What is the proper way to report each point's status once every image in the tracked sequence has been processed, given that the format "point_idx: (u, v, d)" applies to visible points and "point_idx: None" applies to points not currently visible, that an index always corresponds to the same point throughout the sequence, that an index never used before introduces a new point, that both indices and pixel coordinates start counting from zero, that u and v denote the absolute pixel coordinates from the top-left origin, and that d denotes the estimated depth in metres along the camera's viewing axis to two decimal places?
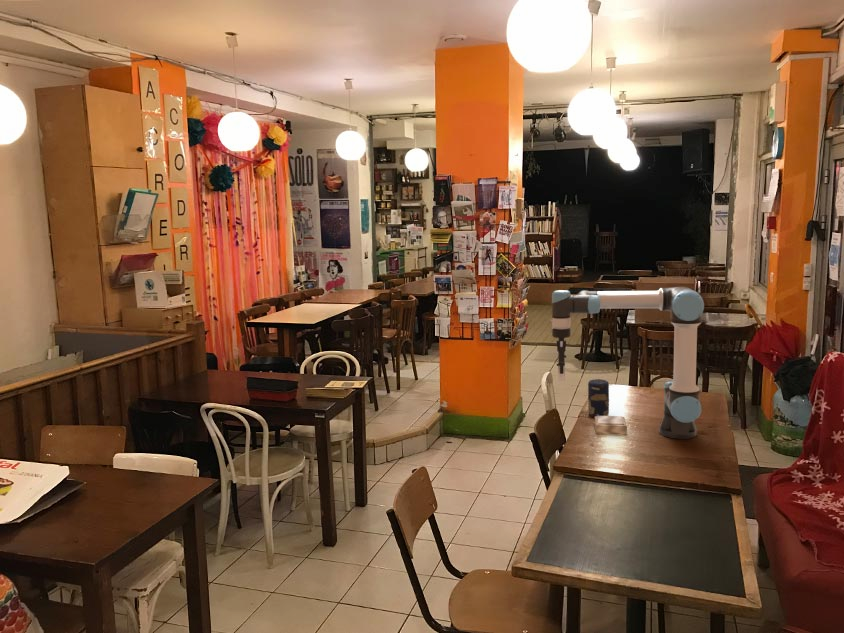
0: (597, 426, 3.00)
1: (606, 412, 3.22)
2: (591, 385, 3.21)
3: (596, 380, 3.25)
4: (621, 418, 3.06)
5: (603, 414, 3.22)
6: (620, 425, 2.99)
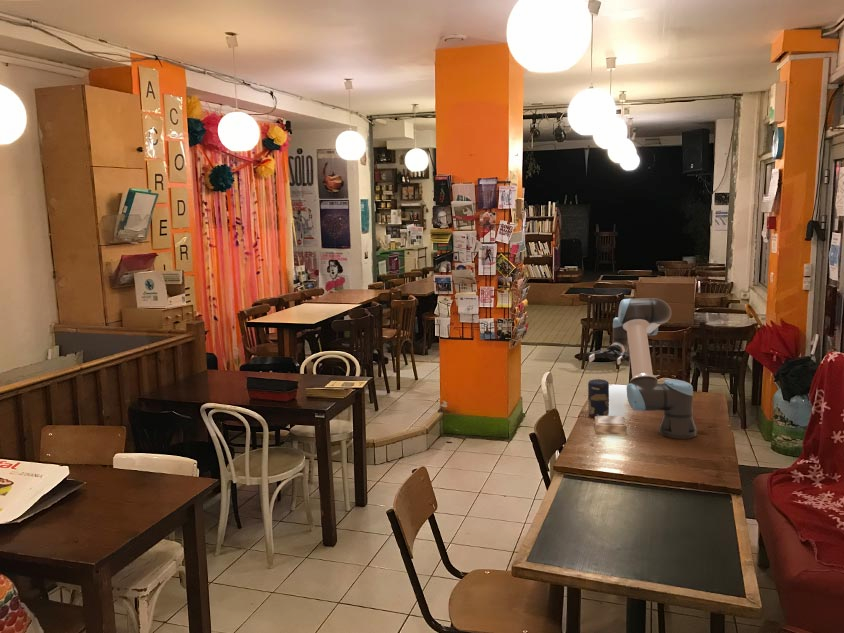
0: (597, 426, 3.00)
1: (606, 412, 3.22)
2: (591, 385, 3.21)
3: (596, 380, 3.25)
4: (621, 418, 3.06)
5: (603, 414, 3.22)
6: (620, 425, 2.99)
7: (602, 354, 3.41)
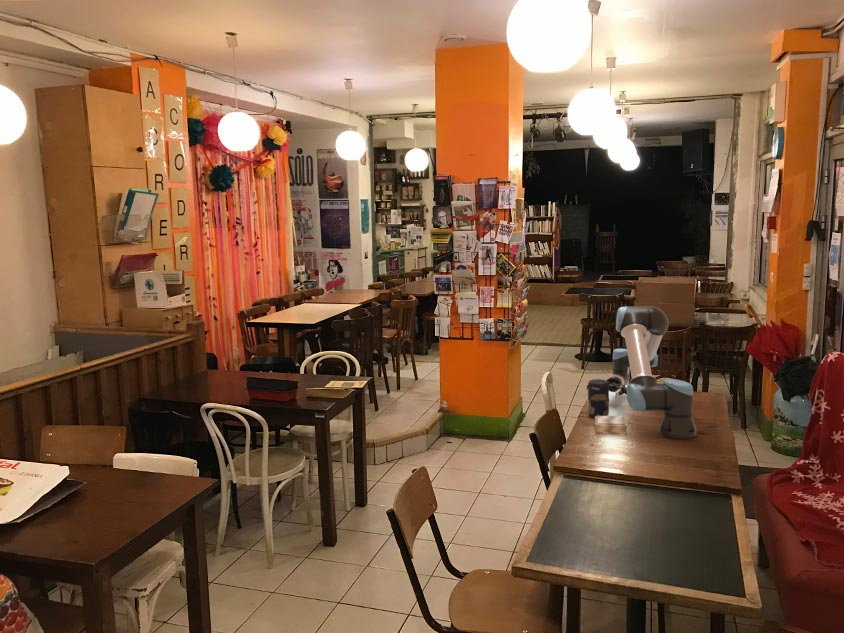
0: (597, 426, 3.00)
1: (606, 412, 3.22)
2: (591, 385, 3.21)
3: (596, 380, 3.25)
4: (621, 418, 3.06)
5: (603, 414, 3.22)
6: (620, 425, 2.99)
7: None
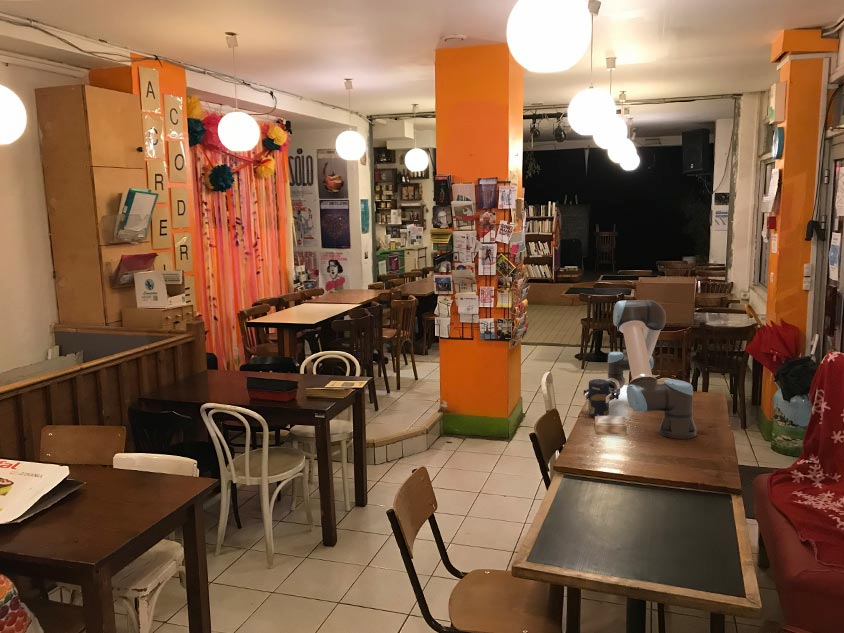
0: (597, 426, 3.00)
1: (606, 412, 3.22)
2: (591, 385, 3.21)
3: (596, 380, 3.25)
4: (621, 418, 3.06)
5: (603, 414, 3.22)
6: (620, 425, 2.99)
7: None
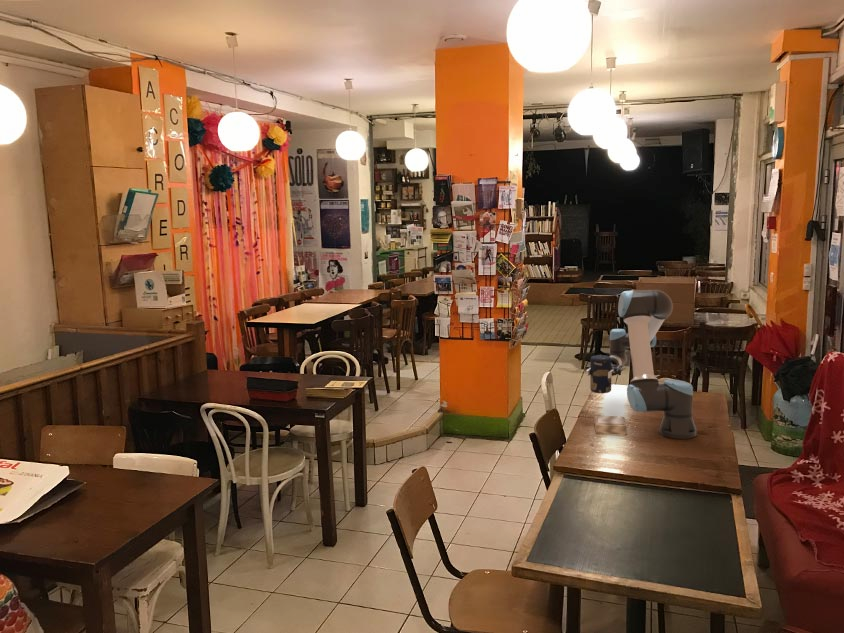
0: (597, 426, 3.00)
1: (608, 388, 3.17)
2: (593, 360, 3.16)
3: (598, 356, 3.20)
4: (621, 418, 3.06)
5: (605, 390, 3.16)
6: (620, 425, 2.99)
7: None
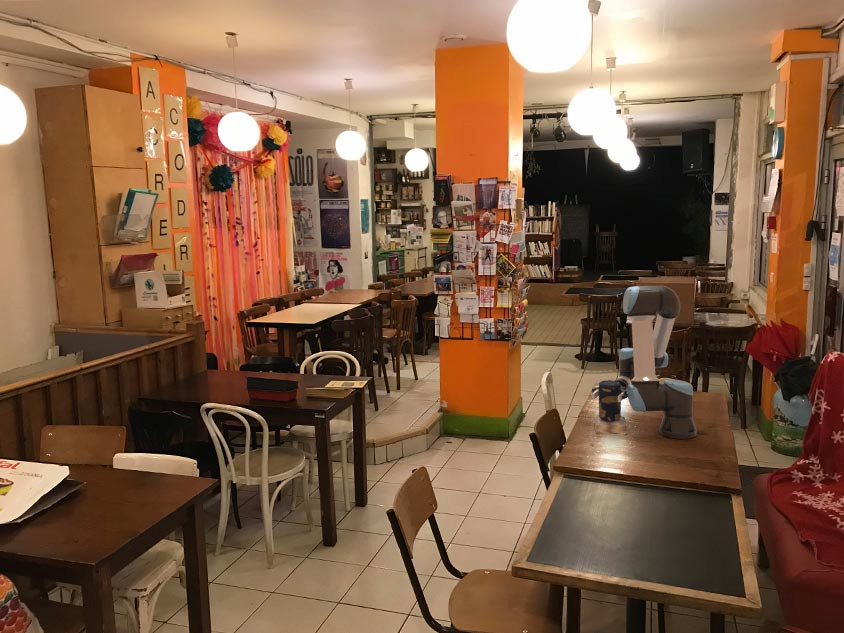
0: (597, 426, 3.00)
1: (618, 415, 3.02)
2: (602, 386, 3.01)
3: (607, 381, 3.05)
4: (621, 418, 3.06)
5: (615, 417, 3.01)
6: (620, 425, 2.99)
7: None
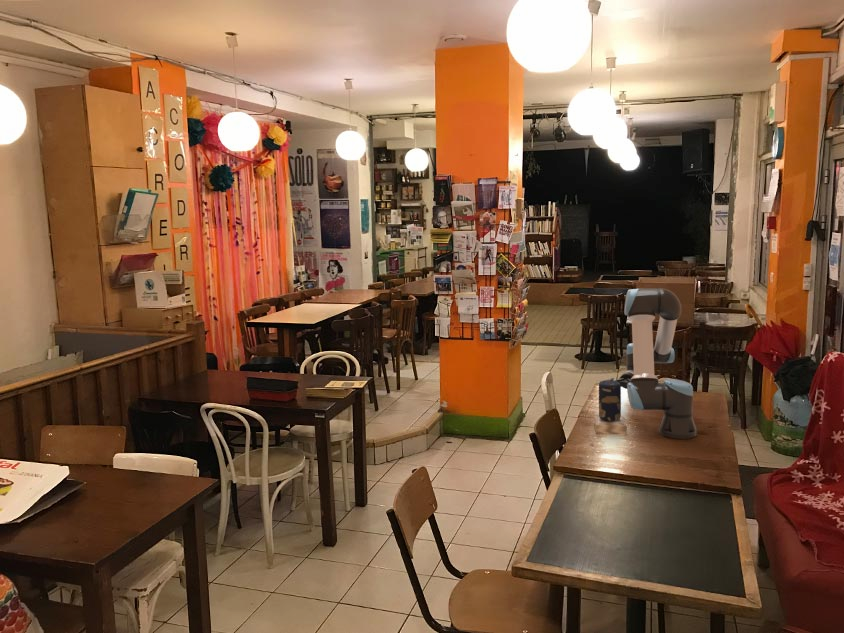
0: (597, 426, 3.00)
1: (618, 415, 3.02)
2: (602, 386, 3.01)
3: (607, 381, 3.05)
4: (621, 418, 3.06)
5: (615, 417, 3.01)
6: (620, 425, 2.99)
7: None
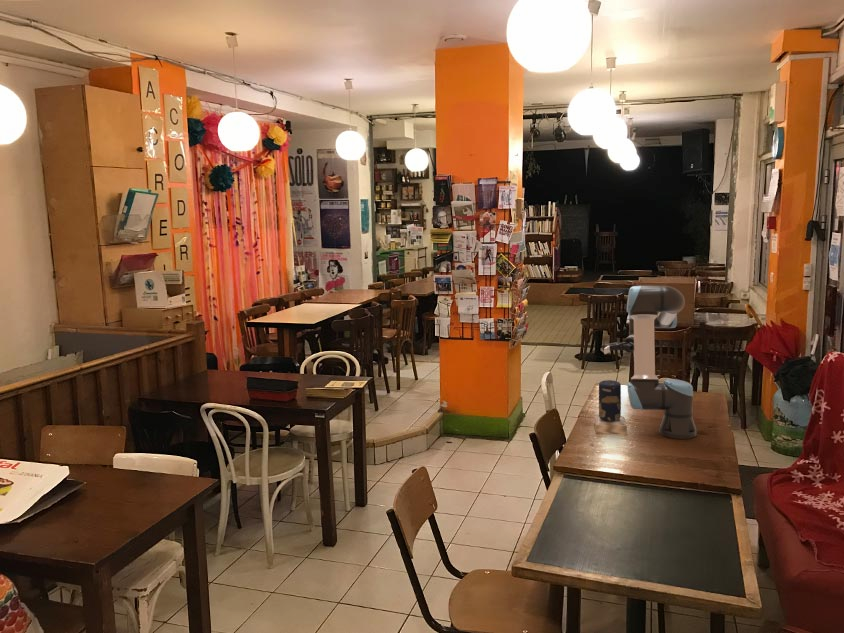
0: (597, 426, 3.00)
1: (618, 415, 3.02)
2: (602, 386, 3.01)
3: (607, 381, 3.05)
4: (621, 418, 3.06)
5: (615, 417, 3.01)
6: (620, 425, 2.99)
7: (618, 346, 3.25)
